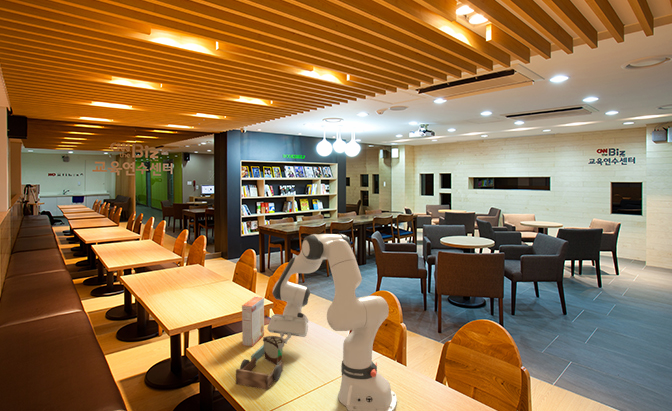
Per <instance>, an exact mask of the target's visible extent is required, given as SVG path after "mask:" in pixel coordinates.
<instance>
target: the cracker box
mask: <svg viewBox="0 0 672 411" xmlns="http://www.w3.org/2000/svg"><path fill="white" fill-rule="evenodd" d="M264 299H265V297H260V296H254V297H252V298H251V299H250V300H248V301H247V302H245V303H244V304H242V305H241V322H242V323H241V324H242V325H241V326H242V328H241V330H242V335H241V336H242V338H241V339H242V346H246V347H254V346H255V345H256V344H257V343H258V342H259V341H260V340H261V339H262V338H263V337H265V300H264Z"/></svg>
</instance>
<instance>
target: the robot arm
mask: <svg viewBox="0 0 672 411" xmlns="http://www.w3.org/2000/svg"><path fill="white" fill-rule="evenodd" d="M324 260H327V261H328V265H329V268H330V272H331V275H332V280H333V283H334V284H333V285H334V297H333V299H332V302H331V304H330V305H329V307H328V308H327V311H326V321H327V323H328V326H329V327H330V328H331V330H333V331H335V332H348V331H351V332H350V333H349V334H348V335H347V336H345V338H344V340H343V346H342V360H341V365H340V367H341V369H340V370H341V383H340V388H339V391H338V393H337V394H338V395H337V399H338V400H339V402H340V403H341V404H342V405H343V406H345V407H346V410H347V411H395V410H396V408H397V406H398V404H397V403H398V397H397V394H396V392H395V391H393V390H392V387H391V385H390V382H389V380H388V379H386V378H385V377H384V376H383V375H382V374H380V373H379V372H378V367H377V366H378V363H377V362H375V363H374V361H372V360H373V348H374V346H373V344H374V341H375V338H376V335H377V332H378V330H379V329H380V326H382V324H383V322H385V321H386V319H388V317H389V313H390V312H389V304H388V302H387V300H386V299H385V298H384V297H382V296H380V295H378V296H377V295H365V296H361V297H357V296H356V289H357V288H358V287H359V286H360V285H361V283H362V280H363V278H362V274H361V270H360V268H359V265H358V262H357V258H356V256H355V253H354V251H353V249H352V248H351V241H350V238H349V237H348V236H347V235H345V234H342V233H320V234H316V233H313V234H310V235H308V236H306V237H304V239H303V241H302V242H301V249H300V253H299V254H298V255H297V256H295V257H292V258H291V259H290V260H289V262H288V263H287V264H286V266H285V268H284V270H283V272H282V273H281V275H280V276H279V278H278V280H277V281H276V282H275V284H274V286H273V287H272V293H271V294H272V295H273V297H274V299H275V300H276V301H277V300H279V301H284V302H286V305H285V307H284V310H283V313H282V314H278V313H275V314H272V315H271V318H270V320H269V322H268V325H267V327H266V328H267V330H268V332H269V333H273V334H278V335H279V337H281V338H282V339H283V341H284V345H285V344H287V343H288V341H289V340H290V339H291V338H292V336H294V337H301V338H306V336H307V335H308V330H309V325H308V324H309V318H308V316H307V315H306V314H305V313H303V312H302V309H303V308H304V307H305V306H307V305H308V303H309V298H310V296H311V292H310V290H309V288H308V287H307V286H305V285H302V284H297V283H294V282H290V281H289V280H290V278H291V276H292V275H294V274H311V273H315V272H316V271H317V270H319V268H320V266H321V264H322V263H323V261H324ZM285 335H286V337H285ZM284 337H285V338H284Z"/></svg>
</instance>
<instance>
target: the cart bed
mask: <svg viewBox="0 0 672 411" xmlns="http://www.w3.org/2000/svg"><path fill="white" fill-rule="evenodd" d="M256 367H257V362H256V358H255V357H254V358H253V359H252V360H251V359H250V360H249V359H247V358H245V359H243V360H242V361H241V363H240V366H239V368H236V369H235V384H236V385H239V386H244V387H249V388H254V389H260V390H264V391H268V390H269V388H270V387H271V386H272V384H274V383H275V381H276V382H278V381H279V380H280V378H281V375H282V373H283V372H284V362H283V361H281V362H280V363H279V364H278V365H275V366H274V368H273V370H272V371H271V372H270V373H269V374H268V373H263V372H257V371H253V370H254V369H255V368H256Z"/></svg>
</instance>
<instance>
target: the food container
mask: <svg viewBox="0 0 672 411" xmlns="http://www.w3.org/2000/svg"><path fill="white" fill-rule="evenodd" d="M262 338H263V339H262V342H263V345H264V355H263V356H264V360H266V361H267V362H270V363H271V364H272V365H275V366H276V365H278V364H279V363H280V362H283V360H282V359H283V358H282V357H283V351H284V350H283V349H284V347H285V343H284V341H283V339H284V338H283V339H282V338H281V336H277V335H267V336H263V337H262Z"/></svg>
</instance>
